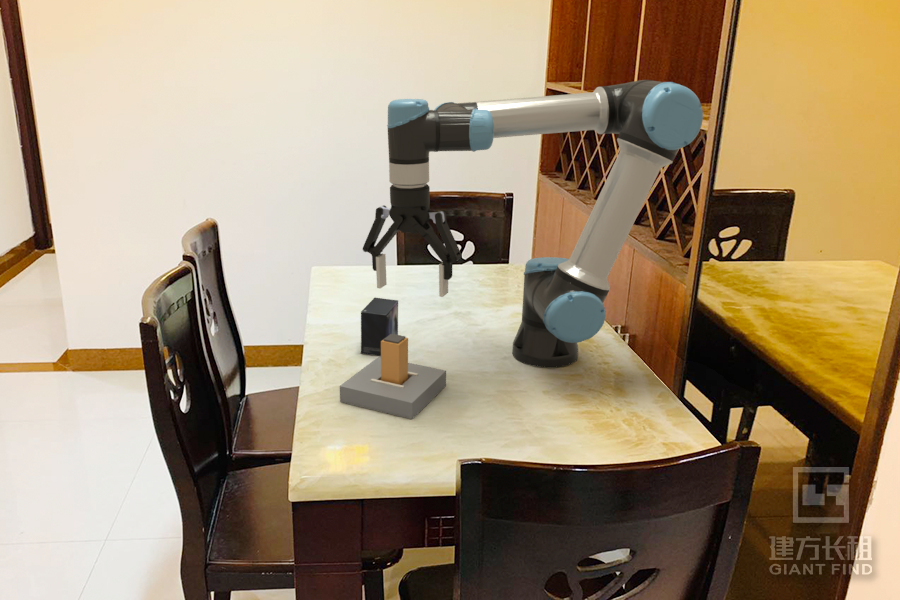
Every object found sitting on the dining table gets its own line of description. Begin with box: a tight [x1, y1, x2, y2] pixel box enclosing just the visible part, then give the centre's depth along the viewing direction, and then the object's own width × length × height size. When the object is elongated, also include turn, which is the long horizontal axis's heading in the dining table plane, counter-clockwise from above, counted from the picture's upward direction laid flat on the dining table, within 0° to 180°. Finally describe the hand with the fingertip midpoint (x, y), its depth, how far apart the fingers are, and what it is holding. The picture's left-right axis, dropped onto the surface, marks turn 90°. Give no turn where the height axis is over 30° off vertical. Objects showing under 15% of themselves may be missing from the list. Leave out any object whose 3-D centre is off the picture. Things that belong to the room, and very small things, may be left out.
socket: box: [339, 356, 447, 420], centre depth 148 cm, size 16×16×4 cm
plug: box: [380, 334, 409, 385], centre depth 146 cm, size 4×4×12 cm
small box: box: [360, 297, 399, 357], centre depth 169 cm, size 11×6×10 cm, turn 168°
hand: (412, 290), depth 144 cm, fingers open, 13 cm apart
